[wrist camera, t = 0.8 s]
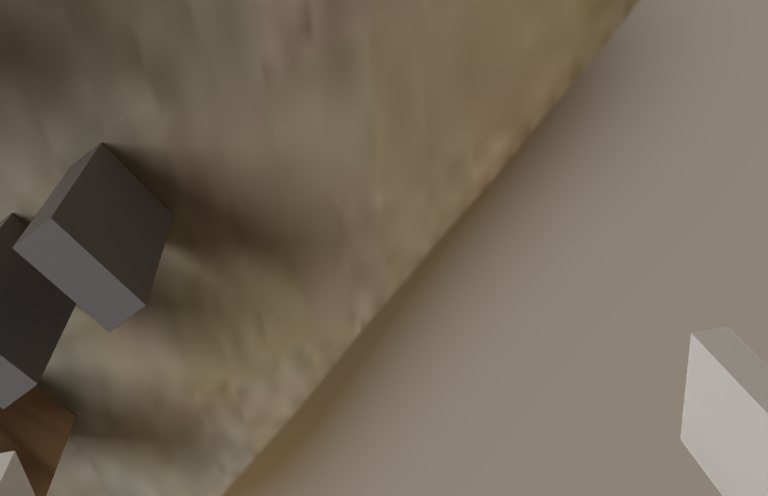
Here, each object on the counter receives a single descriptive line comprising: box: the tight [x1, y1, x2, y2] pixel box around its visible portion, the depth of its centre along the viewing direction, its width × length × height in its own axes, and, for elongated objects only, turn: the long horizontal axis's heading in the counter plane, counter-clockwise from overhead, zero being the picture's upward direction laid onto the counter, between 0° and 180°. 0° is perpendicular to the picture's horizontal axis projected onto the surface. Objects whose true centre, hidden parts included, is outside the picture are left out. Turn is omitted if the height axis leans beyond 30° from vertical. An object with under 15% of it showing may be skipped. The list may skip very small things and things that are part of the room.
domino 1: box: [0, 213, 76, 409], centre depth 33 cm, size 5×2×9 cm, turn 35°
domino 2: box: [13, 142, 173, 332], centre depth 32 cm, size 5×2×9 cm, turn 35°
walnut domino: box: [0, 386, 76, 496], centre depth 37 cm, size 5×2×9 cm, turn 35°
